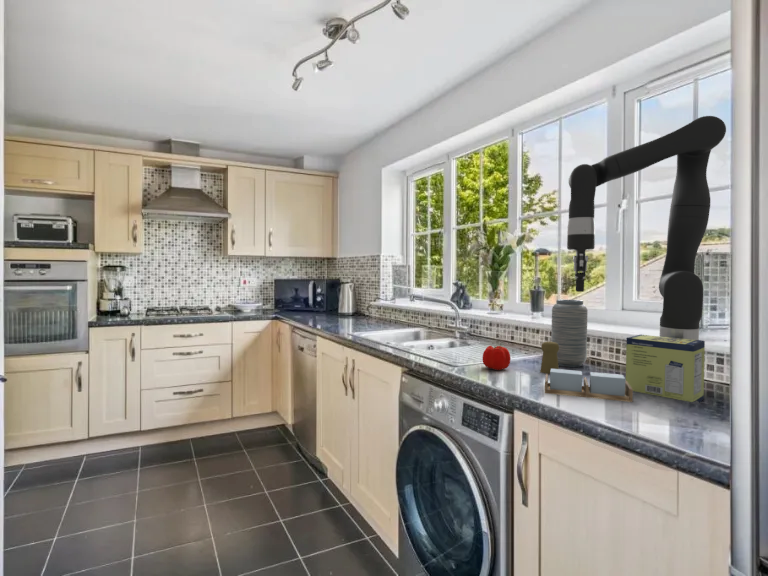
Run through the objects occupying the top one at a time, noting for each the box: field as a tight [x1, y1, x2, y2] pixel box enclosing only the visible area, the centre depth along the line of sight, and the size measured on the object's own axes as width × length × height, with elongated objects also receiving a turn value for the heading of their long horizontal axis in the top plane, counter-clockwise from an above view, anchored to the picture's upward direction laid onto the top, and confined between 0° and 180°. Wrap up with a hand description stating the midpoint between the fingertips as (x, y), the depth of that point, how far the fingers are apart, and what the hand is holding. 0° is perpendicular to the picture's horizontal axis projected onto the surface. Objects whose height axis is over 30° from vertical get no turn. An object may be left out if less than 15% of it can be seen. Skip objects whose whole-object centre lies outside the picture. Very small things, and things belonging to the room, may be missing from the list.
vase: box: [550, 299, 589, 368], centre depth 153 cm, size 12×12×23 cm
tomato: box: [482, 345, 511, 371], centre depth 146 cm, size 9×9×8 cm
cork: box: [539, 340, 560, 375], centre depth 135 cm, size 6×6×11 cm
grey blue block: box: [549, 368, 583, 392], centre depth 113 cm, size 8×4×5 cm, turn 67°
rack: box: [544, 373, 634, 403], centre depth 112 cm, size 20×9×4 cm, turn 68°
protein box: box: [625, 334, 706, 404], centre depth 113 cm, size 10×16×16 cm
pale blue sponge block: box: [589, 371, 626, 396], centre depth 110 cm, size 8×4×5 cm, turn 68°
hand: (579, 291), depth 130 cm, fingers closed
